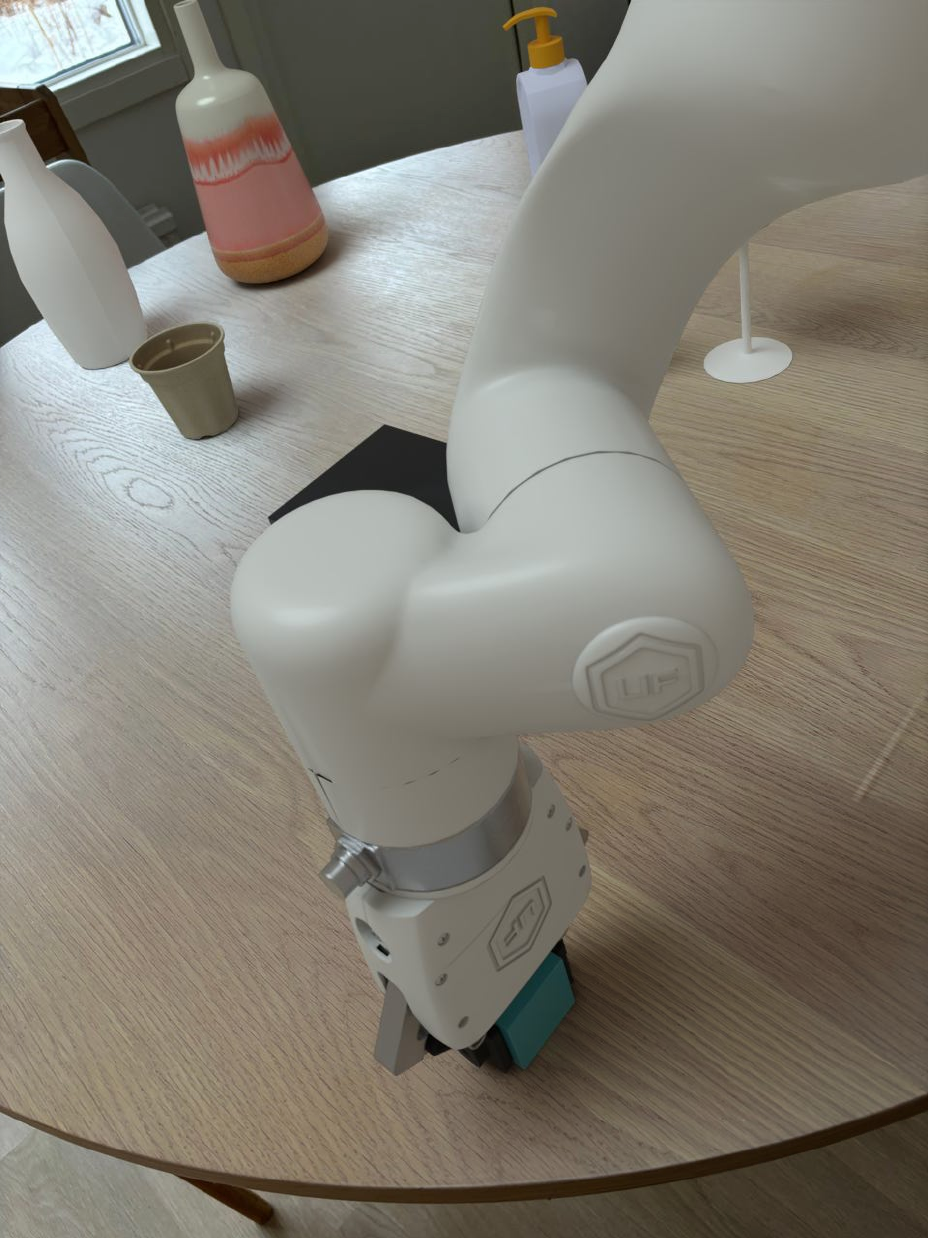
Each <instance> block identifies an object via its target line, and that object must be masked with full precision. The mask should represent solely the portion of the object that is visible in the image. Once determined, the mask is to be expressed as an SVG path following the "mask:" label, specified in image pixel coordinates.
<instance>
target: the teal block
mask: <svg viewBox="0 0 928 1238" xmlns="http://www.w3.org/2000/svg"><path fill="white" fill-rule="evenodd" d="M575 1002H576V999H575V997H574V992H573V989H572V986H570V983H569V980H568V976H567V973H566V970H565V967H564V963H563V960H562V958H560V957H558V956H557V955H555V954H554V953H552V952H551V951H550V952H549V954H548V955H547V956H546V958H545V959H544V960H543V962H542V963H541V964H540V966H539V967H538V968H537V969H536V971H535V972H534V973H533V975H532V976H531V977H530V979H529V980H528V981H527V982H526V984H525V985H524V986H523V988H522V989H521V990H520V991H519V993H518V994H517V995H516V996H515V998H514V999H513V1000H512V1002H511V1003H510V1004H509V1005H508V1007H507V1008H506V1009H505V1011H504V1012H503V1013H502V1014H501V1015H500V1017H499V1018H498V1019H497V1020H496V1022H495V1023H494V1024H495V1025H496V1026H497V1027H498V1028H499V1029H500V1031H501V1033H502V1035H503V1038H504V1040H505V1042H506V1045H507V1047H508V1049H509V1051H510V1054H511V1056H512V1058H513V1061H512V1063H513V1064H515V1065H516V1066H518V1067H519V1068H520V1069H522V1070H523V1071H526V1070H527V1068H528V1067H529V1066H530V1064H531V1063H532V1062H533V1060H534V1059H535V1057H536V1056H537V1055H538V1053H539V1052H540V1051H541V1050H542V1048H543V1047H544V1045H545V1044H546V1042H547V1041H548V1040H549V1039H550V1037H551V1036H552V1034H553V1033H554V1032H555V1030H556V1029H557V1028H558V1027H559V1025H560V1023H562V1021H563V1020H564V1018H565V1017H566V1015H567V1014H568V1012H569V1011H570V1010H571V1009H572V1007H573V1006H574V1004H575Z"/></svg>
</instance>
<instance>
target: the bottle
mask: <svg viewBox="0 0 928 1238" xmlns="http://www.w3.org/2000/svg"><path fill="white" fill-rule="evenodd" d="M0 176H1V178H2V180H3V183H4V203H3V204H4V209H3V210H4V213H3V214H4V215H3V216H4V217H3V220H4V221H3V223H4V227H5V232H6V238H7V241H8V247H9V251H10V254H11V257H12V260H13V263H14V265H15V267H16V271H17V274H18V275H19V276H18V277H19V278H20V281H21V282H22V284H23V286H24V288H25V289H26V292H27V293H28V294H29V296H30V298H31V299H32V301H33V302H34V304H35V306H36V308H37V310H38V311H39V313H40V314H41V316H42V317H43V319H44V321H45V323H46V324H47V326H48V328H49V330H51V332H52V334H54V336H55V337H56V339H57V340H58V341H59V343H60V344H61V345H62V347H63V348H64V350H65V351H66V352H67V353H68V355H69V356H70V357H71V359H72V360H73V361H74V362H75V364H76V365H78V366H80V367H83V368H84V369H87V370H100V369H107V368H109V367H114V366H117V365H119V364H121V363H124V362H125V361H128V360H129V358H130V356H131V354H132V353H133V352H134V350H135V349H136V348H137V347H138V346H139V345H141V344H142V343H143V342H144V341H146V340H147V339H149V329H148V326H147V324H146V323H147V322H146V320H145V317H144V313H143V309H142V307H141V303H140V300H139V297H138V293H137V291H136V287H135V285H134V283H133V280H132V277H131V275H130V272H129V270H128V269H127V265H126V263H125V261H124V259H123V256H122V253H121V250H120V249H119V246H118V244H117V242H116V241H115V239H114V238H113V236H112V234H111V233H110V231H109V229H108V228H107V227H106V225H105V224H104V222H103V220H102V219H101V218H100V216H99V215H98V214H97V213H96V212H95V210H93V208H92V207H91V206H90V204H88V202H87V201H86V200H85V199H84V198H83V196H82V195H81V194H80V193H79V192H78V191H77V190H75V189H74V188H73V187H72V186H70V185H69V184H68V183H66V182H65V181H64V180H63V179H62V178H61V177H59V176H58V175H57V174H56V173H54V172H53V171H52V170H50V168H48V167H47V166H46V163H45V162H44V160H43V158H42V156H41V155H40V152H39V151H38V149H37V147H36V145H35V144H34V142H33V140H32V138H31V137H30V134H29V133H28V131H27V127H26V123H25V121H24V120H23V119H20V118H18V119H17V118H16V119H10V120H6V121H3V122H0Z"/></svg>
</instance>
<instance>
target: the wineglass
mask: <svg viewBox="0 0 928 1238" xmlns="http://www.w3.org/2000/svg"><path fill="white" fill-rule="evenodd" d="M772 223H773V222H771V223H770V224H772ZM770 224H768V225H767V226H765V227H763V228H762V229H765V228H766V227H768V226H769V225H770ZM749 247H750V246H749V239H748V240H747V241H746V242H745V243H744V244H743V245H742V246H741V247H740V248H739V249H738V262H739V287H740V289H739V290H740V315H741V317H740V318H741V319H740V320H741V337H740V338H736V339H732V340H729V341H725V342H724V343H722V344H719V345H717V346H715V347H714V348H712V349H711V350H710V351H709V352H708V353H707V354H706V355H705V357H704V359H703V369H704V370H705V372H706V373H707V374H708V375H709V376H710V377H712V378H714V379H716V380H720V381H722V382H726V383H737V384H745V383H756V382H760V381H764V380H767V379H771V378H772V377H775V376H777V375H779V374H781V373H782V372H783V371H784V370H786V369H787V368H788V367H789V366H790V364H791V362H792V360H793V351H792V349H790V347H789V346H788V345H787V344H786V343H783V342H781V341H780V340H778V339H774V338H770V337H764V336H763V337H762V336H752V318H751V285H750V284H751V283H750V258H749V257H750V251H749V250H750V248H749Z"/></svg>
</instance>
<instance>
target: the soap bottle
mask: <svg viewBox="0 0 928 1238" xmlns="http://www.w3.org/2000/svg"><path fill="white" fill-rule="evenodd" d="M548 16H550V17H553V18H557V17H558V13H557V12H556V10H555V9H553V8H551V7H546V6H539V7H533V8H531V9H527V10H524V11H522V12H519V13H516V14H515V15H513V16H512V17H511V18H510V19H508V20H507V22H506V23H504V24H503V25H502V28H503V30H505V32H507V31H508V30H509V29H510V28H512V27H513V26H515V25H516V24H518V23H519V22H521V21H524V20H527V19H530V18H534V25H535V32H536V37H537V39H533V40H531V41H530V42H528V44H527V46H526V47H527V53H528V59H529V65H530V66H529V68H528V70H525V71H522V72H520V73H519V72H518V73H517V75H516V80H515V82H516V83H515V84H516V95H517V102H518V108H519V114H520V120H521V125H522V130H523V136H524V143H525V148H526V153H527V160H528V166H529V171H530V176H531V180H532V179H533V178H534V176H535V174H536V172H537V170H538V169H539V167H540V166H541V164H542V162H543V161H544V159H545V158H546V156H547V154H548V152H549V151H550V149H551V147H552V146H553V144H554V142H555V140H556V138H557V136H558V135H559V133H560V131H561V130H562V128H563V126H564V124H565V122H566V120H567V118H568V116H569V115H570V113H571V111H572V109H573V108H574V106H575V104H576V103H577V101H578V100H579V98H580V97H581V95H582V93H583V92H584V90H585V89H586V87H587V86H588V82H587V77H586V76H585V73H584V70H583V67H582V65H581V63H580V61H579V59H576V58H574V57H572V58H567V57H565V50H564V42H563V36H561V35H557V34H555V35H551V31H550V23H549V18H548Z"/></svg>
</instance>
